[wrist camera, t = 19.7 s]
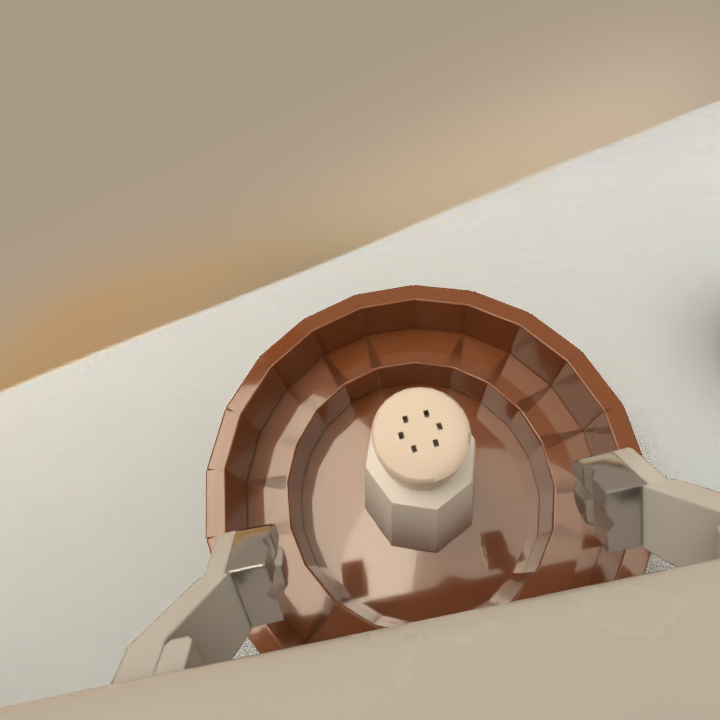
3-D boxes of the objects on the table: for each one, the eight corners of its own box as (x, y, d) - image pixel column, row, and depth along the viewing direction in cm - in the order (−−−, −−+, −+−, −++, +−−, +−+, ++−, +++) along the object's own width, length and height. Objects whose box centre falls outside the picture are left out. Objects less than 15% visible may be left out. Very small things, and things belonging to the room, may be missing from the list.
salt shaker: (379, 568, 23) (347, 557, 13) (352, 454, 25) (308, 368, 15) (493, 538, 23) (553, 504, 13) (457, 427, 25) (482, 323, 15)
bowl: (210, 648, 22) (144, 669, 17) (295, 328, 29) (267, 269, 23) (595, 742, 20) (663, 804, 14) (595, 364, 26) (642, 307, 21)
